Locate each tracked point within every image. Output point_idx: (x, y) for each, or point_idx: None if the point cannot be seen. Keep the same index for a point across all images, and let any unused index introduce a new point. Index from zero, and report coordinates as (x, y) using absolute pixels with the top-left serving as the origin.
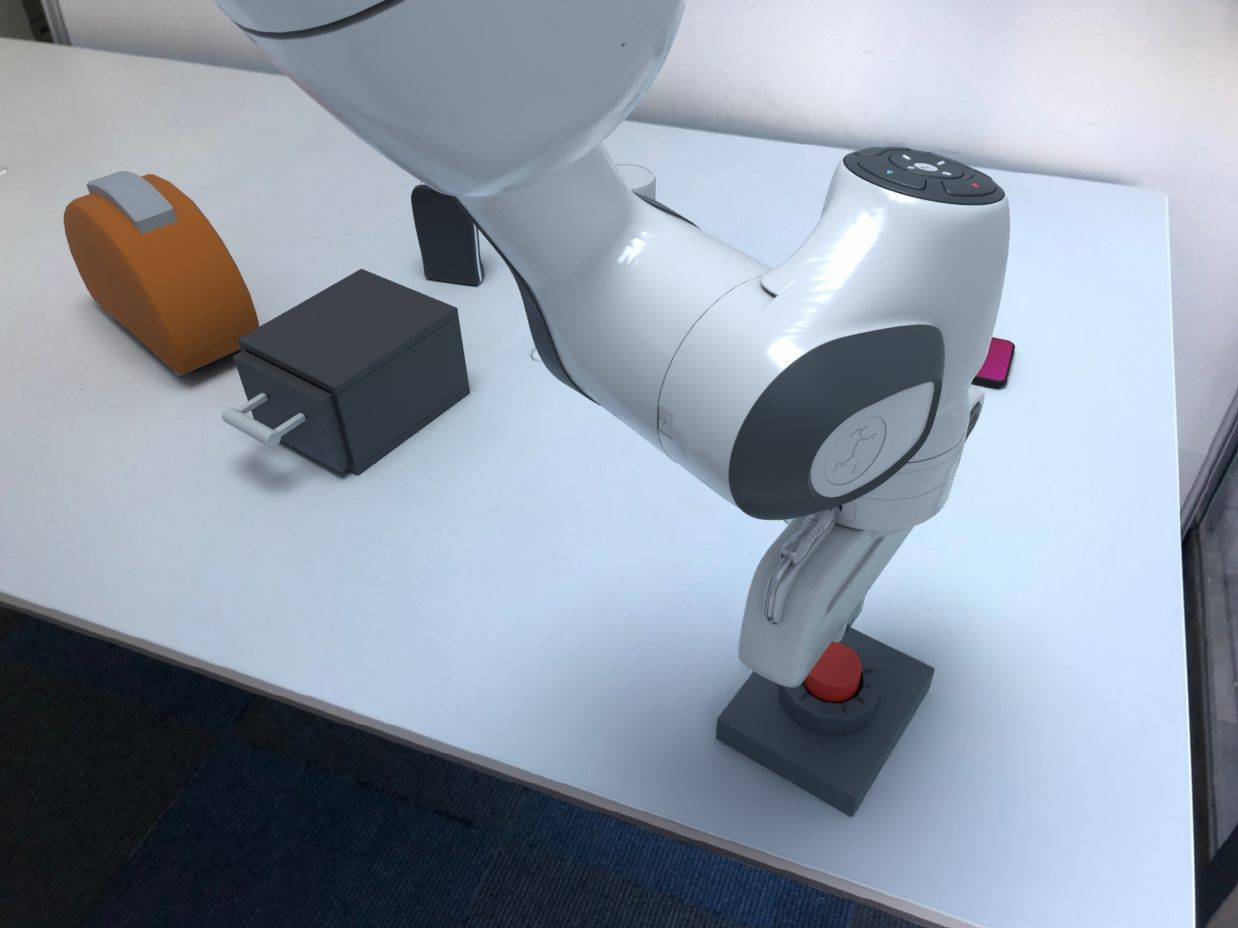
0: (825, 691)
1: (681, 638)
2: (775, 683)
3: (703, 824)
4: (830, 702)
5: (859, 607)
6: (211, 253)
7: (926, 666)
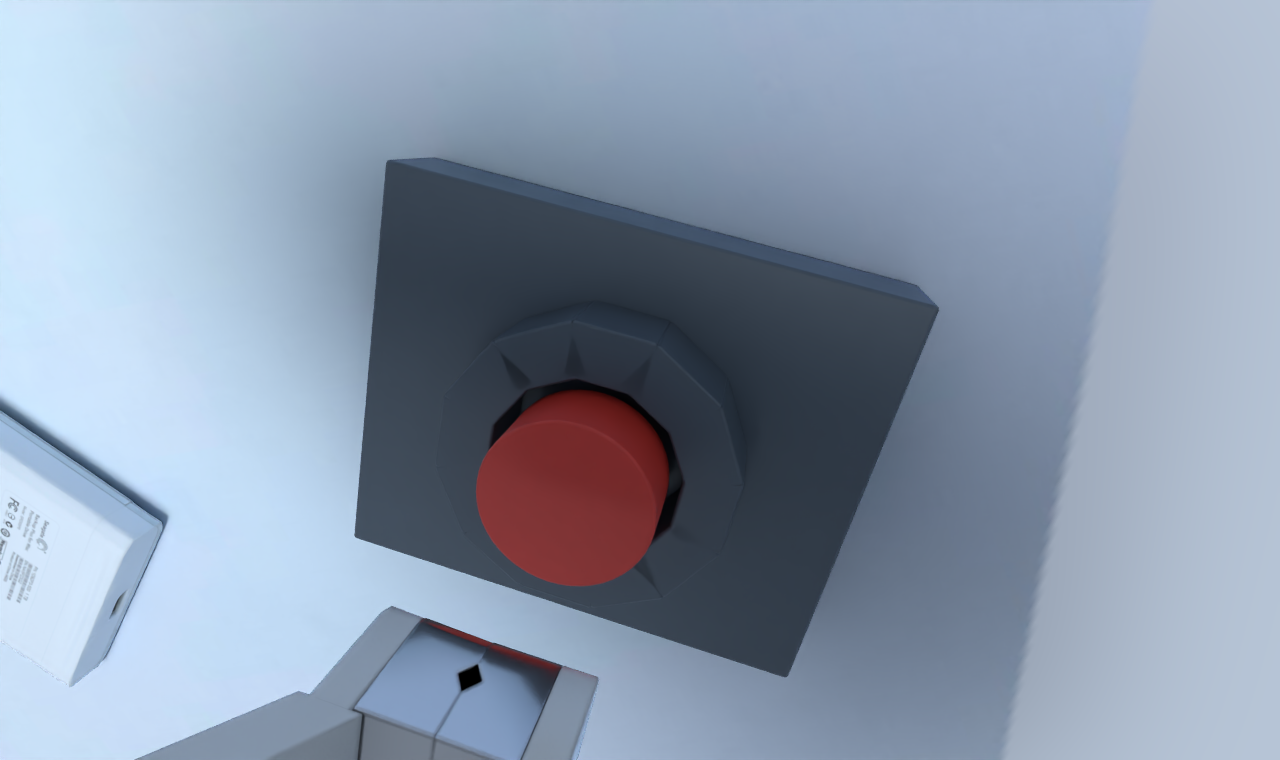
0: (661, 497)
1: None
2: None
3: (1029, 609)
4: None
5: (386, 678)
6: None
7: (392, 187)
